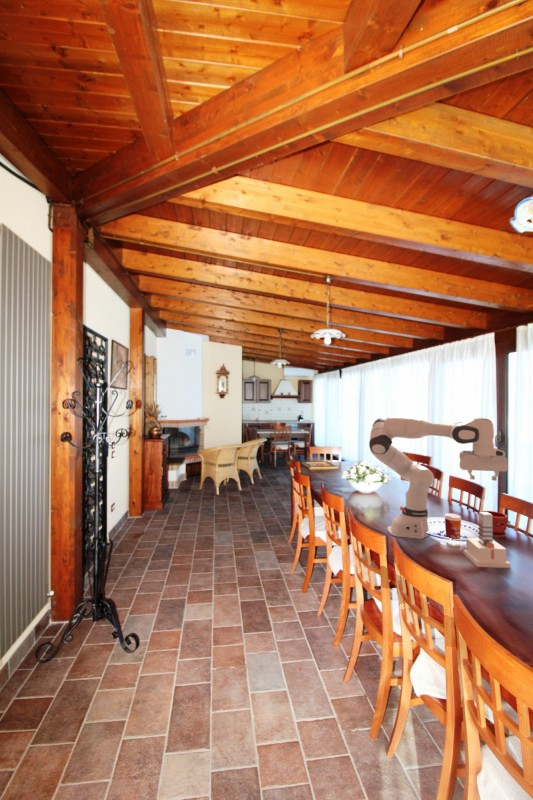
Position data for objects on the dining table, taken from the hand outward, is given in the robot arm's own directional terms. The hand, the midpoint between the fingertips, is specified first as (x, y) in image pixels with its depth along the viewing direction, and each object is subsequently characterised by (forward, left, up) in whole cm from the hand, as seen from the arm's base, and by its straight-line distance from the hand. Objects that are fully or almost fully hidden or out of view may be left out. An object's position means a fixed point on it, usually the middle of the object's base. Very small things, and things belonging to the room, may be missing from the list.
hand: (483, 479), depth 175 cm
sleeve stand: (-1, -4, -37) cm, 37 cm away
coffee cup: (-8, +15, -37) cm, 41 cm away
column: (-1, -4, -37) cm, 37 cm away
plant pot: (+20, +30, -37) cm, 51 cm away
